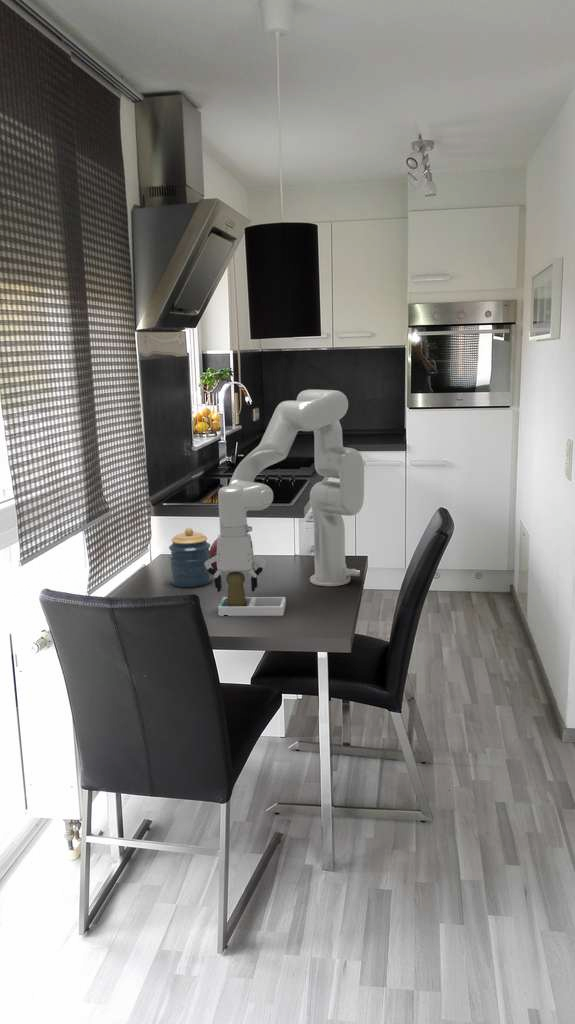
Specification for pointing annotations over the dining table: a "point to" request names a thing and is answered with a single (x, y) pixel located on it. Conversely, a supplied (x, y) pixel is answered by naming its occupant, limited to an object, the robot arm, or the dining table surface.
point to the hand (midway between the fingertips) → (236, 590)
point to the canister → (189, 559)
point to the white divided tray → (255, 607)
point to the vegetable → (214, 553)
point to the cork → (236, 589)
